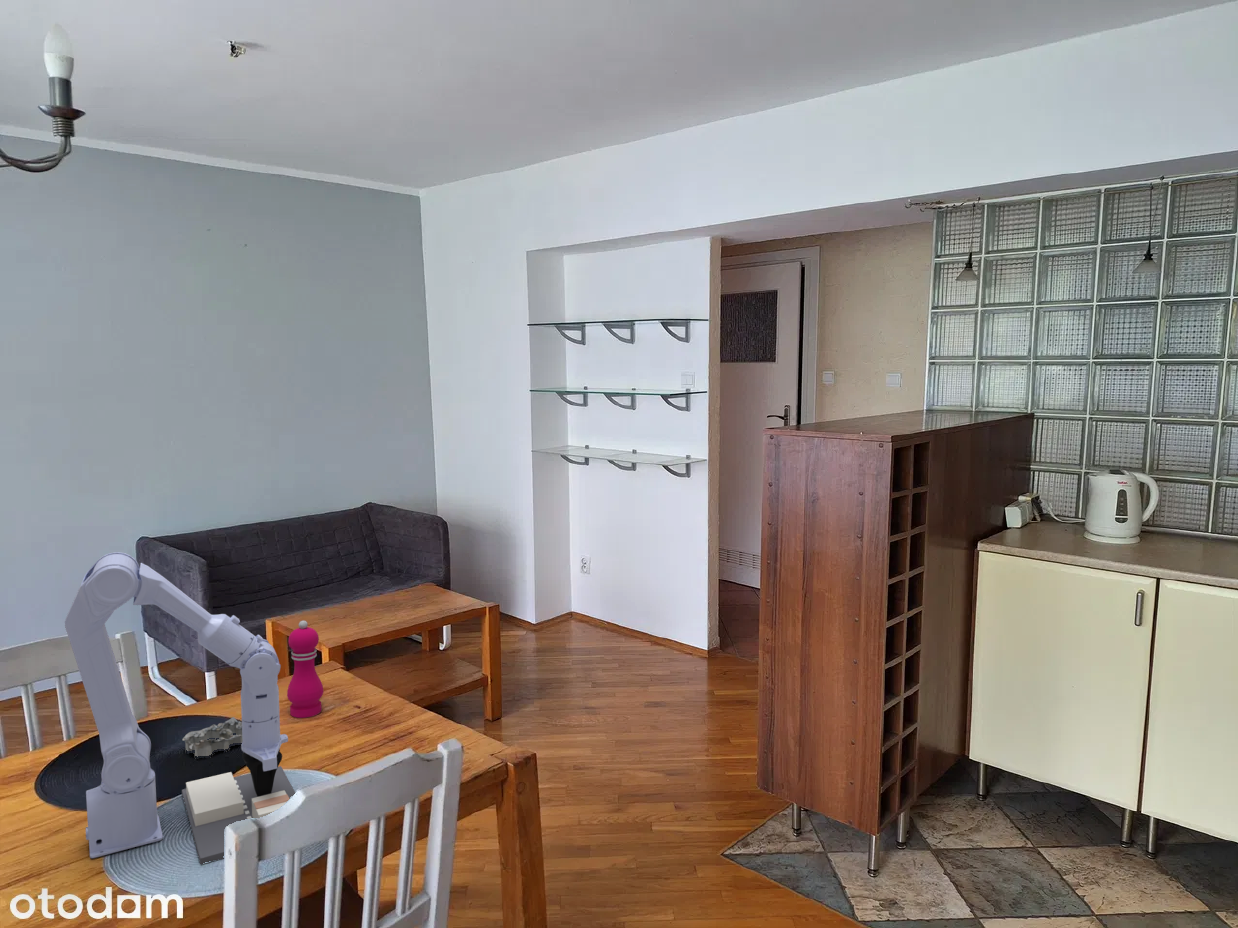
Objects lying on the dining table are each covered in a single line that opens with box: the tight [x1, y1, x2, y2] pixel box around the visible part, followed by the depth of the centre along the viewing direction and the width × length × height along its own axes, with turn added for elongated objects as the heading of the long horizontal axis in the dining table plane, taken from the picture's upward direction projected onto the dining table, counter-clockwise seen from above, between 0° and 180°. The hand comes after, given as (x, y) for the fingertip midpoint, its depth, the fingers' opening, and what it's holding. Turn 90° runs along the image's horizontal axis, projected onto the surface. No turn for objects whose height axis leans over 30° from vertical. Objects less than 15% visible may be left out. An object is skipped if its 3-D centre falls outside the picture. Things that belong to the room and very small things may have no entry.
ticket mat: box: [181, 765, 296, 865], centre depth 136 cm, size 16×24×3 cm, turn 33°
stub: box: [252, 790, 289, 818], centre depth 132 cm, size 5×6×3 cm
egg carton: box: [182, 717, 243, 757], centre depth 160 cm, size 11×8×4 cm
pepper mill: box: [286, 620, 324, 719], centre depth 175 cm, size 7×7×20 cm
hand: (263, 794), depth 138 cm, fingers closed
